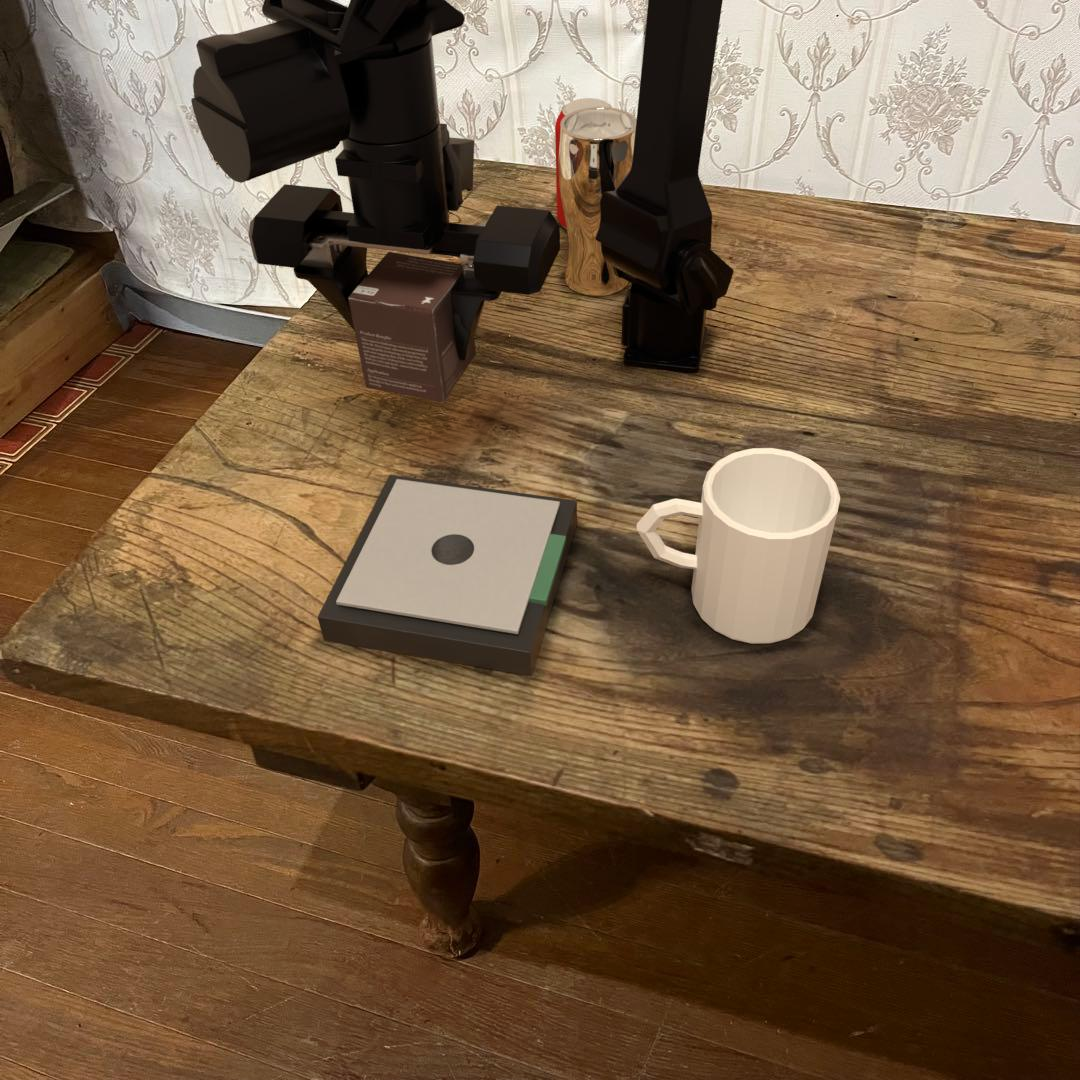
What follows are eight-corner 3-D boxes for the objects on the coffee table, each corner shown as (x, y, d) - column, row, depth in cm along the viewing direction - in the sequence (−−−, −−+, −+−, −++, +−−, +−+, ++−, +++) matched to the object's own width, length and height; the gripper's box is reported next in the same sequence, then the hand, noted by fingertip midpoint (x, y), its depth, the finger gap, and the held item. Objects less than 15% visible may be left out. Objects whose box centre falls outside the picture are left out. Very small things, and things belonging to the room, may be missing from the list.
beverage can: (618, 211, 107) (621, 94, 99) (616, 241, 103) (618, 121, 94) (559, 210, 108) (557, 93, 99) (554, 240, 103) (552, 121, 95)
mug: (629, 556, 72) (634, 448, 65) (802, 554, 72) (826, 445, 65) (636, 646, 66) (642, 538, 60) (824, 644, 66) (852, 535, 59)
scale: (578, 524, 75) (578, 494, 72) (533, 676, 65) (531, 646, 63) (393, 498, 77) (388, 467, 75) (323, 640, 68) (315, 610, 66)
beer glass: (628, 302, 95) (634, 142, 84) (554, 295, 96) (550, 137, 86) (638, 263, 100) (645, 107, 89) (567, 257, 101) (566, 103, 90)
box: (478, 357, 73) (471, 263, 68) (443, 407, 69) (433, 311, 64) (400, 341, 74) (388, 249, 69) (362, 389, 70) (345, 295, 65)
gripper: (579, 81, 63) (579, 303, 74) (297, 60, 67) (337, 275, 78) (533, 161, 55) (541, 396, 66) (217, 133, 59) (274, 360, 70)
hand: (419, 351), depth 70 cm, fingers closed on box, 6 cm apart
